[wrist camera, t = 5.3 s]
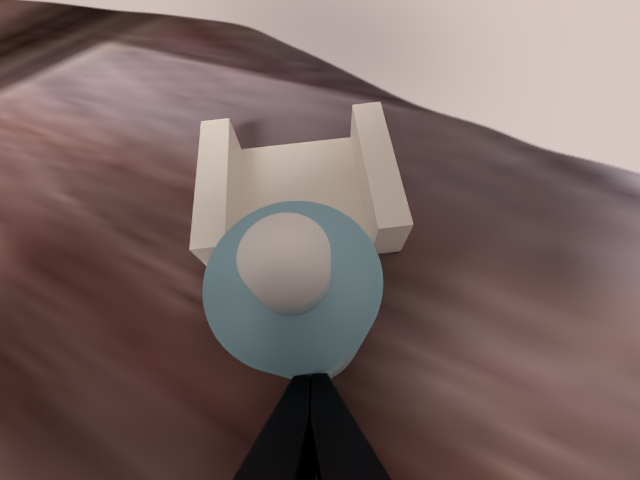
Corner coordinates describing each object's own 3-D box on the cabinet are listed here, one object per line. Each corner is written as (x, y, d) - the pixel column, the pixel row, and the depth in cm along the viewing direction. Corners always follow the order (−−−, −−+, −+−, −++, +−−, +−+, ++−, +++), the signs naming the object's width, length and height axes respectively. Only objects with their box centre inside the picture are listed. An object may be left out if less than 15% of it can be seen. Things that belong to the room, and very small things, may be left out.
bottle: (370, 371, 14) (425, 342, 6) (271, 392, 14) (171, 395, 5) (347, 277, 16) (362, 152, 8) (261, 294, 16) (176, 185, 7)
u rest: (400, 251, 17) (413, 224, 14) (213, 272, 17) (189, 249, 14) (374, 140, 20) (380, 101, 17) (219, 157, 20) (201, 121, 17)
